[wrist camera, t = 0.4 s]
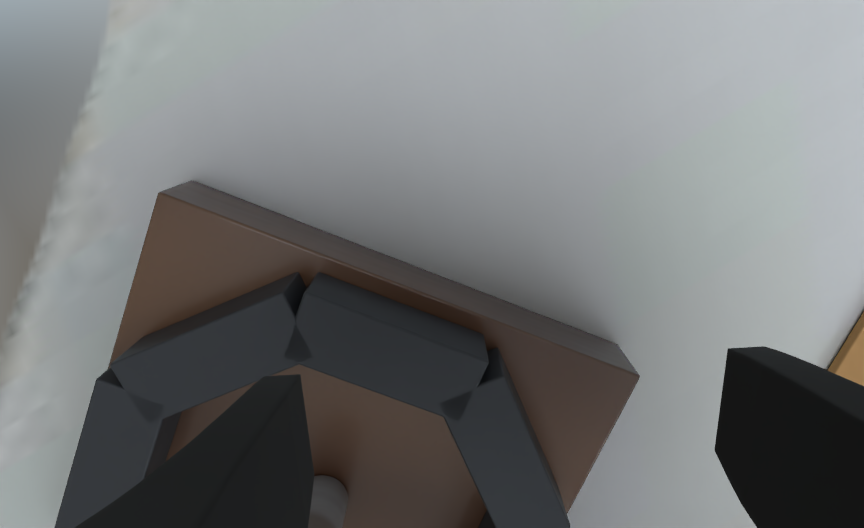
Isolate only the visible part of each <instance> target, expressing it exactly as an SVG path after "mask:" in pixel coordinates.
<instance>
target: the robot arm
mask: <svg viewBox="0 0 864 528" xmlns="http://www.w3.org/2000/svg"><path fill="white" fill-rule="evenodd" d="M715 452H716V454H717V456H718V458H719V460H720V462H721V464H722V467H723V469H724V471H725V473H726V475H727V477H728V479H729V481H730V483H731V485H732V487H733V489H734V491H735V493H736V494H737V496H738V498H739V500H740V502H741V504H742V505H743V507H744V508H745V510H746V511H747V513H748V514H749V516H750V518H751V519H752V520H753V522H754V523H755V525H756V526H757V528H864V386H862V385H860V384H858V383H855V382H853V381H851V380H848V379H846V378H844V377H841V376H839V375H837V374H834V373H832V372H830V371H827V370H825V369H823V368H820V367H818V366H816V365H813V364H811V363H808V362H806V361H803V360H801V359H798V358H796V357H793V356H791V355H788V354H786V353H783V352H780V351H777V350H774V349H771V348H767V347H748V348H731V349H728V352H727V360H726V367H725V375H724V383H723V390H722V398H721V406H720V413H719V421H718V429H717V436H716V444H715ZM313 483H314V469H313V461H312V454H311V447H310V440H309V433H308V426H307V418H306V411H305V404H304V397H303V390H302V383H301V375H300V374H296V375H279V376H264V377H263V378H261V379H260V380H259V381H258V382H256V383H255V384H254V385H253V386H252V387H251V388H250V389H248V390H247V391H246V392H245V393H244V394H243V395H242V396H241V397H240V398H239V399H238V400H236V401H235V402H234V403H233V404H232V405H231V406H230V407H229V408H228V409H227V410H226V411H224V412H223V413H222V414H221V415H220V416H219V417H218V418H217V419H215V420H214V421H213V422H212V423H211V424H210V425H209V426H208V427H206V428H205V429H204V430H203V431H202V432H201V433H200V434H199V435H197V436H196V437H195V438H194V439H193V440H192V441H191V442H189V443H188V444H187V445H186V446H184V447H183V448H182V449H181V450H179V451H178V452H177V453H176V454H175V455H173V456H172V457H171V458H170V459H168V460H167V461H166V462H165V463H163V464H162V465H161V466H160V467H158V468H157V469H156V470H155V471H153V472H152V473H151V474H150V475H148V476H147V477H146V478H145V479H143V480H142V481H141V482H140V483H138V484H137V485H135V486H134V487H133V488H131V489H130V490H129V491H127V492H126V493H125V494H123V495H122V496H120V497H119V498H118V499H116V500H115V501H113V502H112V503H111V504H109V505H108V506H106V507H105V508H103V509H102V510H100V511H99V512H97V513H96V514H94V515H93V516H91V517H90V518H88V519H87V520H85V521H84V522H82V523H81V524H79V525H78V526H76V527H74V528H308V523H309V516H310V508H311V500H312V491H313Z"/></svg>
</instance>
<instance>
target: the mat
mask: <svg viewBox="0 0 864 528" xmlns="http://www.w3.org/2000/svg"><path fill="white" fill-rule="evenodd" d="M827 371H830V372H832V373H834V374H837V375H839V376H841V377H844V378H846V379H848V380H851V381H853V382H855V383H858V384H860V385H862V386H864V312H863V314H862V315H861V317H860V318H859V320H858V322H857V323H856V325H855V327H854V328H853V330H852V331H851V333H850V335H849V336H848V338H847V340H846V341H845V343H844V344H843V346H842V348H841V349H840V351H839V353H838V354H837V356H836V357H835V359H834V361H833V362H832V364H831V365H830V367H829V369H828V370H827Z"/></svg>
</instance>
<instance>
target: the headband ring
mask: <svg viewBox="0 0 864 528" xmlns="http://www.w3.org/2000/svg"><path fill="white" fill-rule="evenodd" d="M297 365H302V366H305V367H308V368H310V369H313V370H316V371H319V372H321V373H324V374H327V375H330V376H332V377H335V378H338V379H341V380H343V381H346V382H349V383H352V384H354V385H357V386H360V387H363V388H365V389H368V390H371V391H374V392H376V393H379V394H382V395H385V396H387V397H390V398H393V399H396V400H398V401H401V402H404V403H406V404H409V405H412V406H415V407H417V408H420V409H423V410H426V411H428V412H431V413H434V414H437V415H439V416H442V417H444V420H445V422H446V424H447V426H448V428H449V430H450V432H451V434H452V437H453V439H454V441H455V443H456V445H457V447H458V449H459V451H460V454H461V456H462V458H463V460H464V462H465V464H466V466H467V468H468V471H469V473H470V475H471V477H472V479H473V481H474V483H475V485H476V488H477V490H478V492H479V494H480V496H481V498H482V500H483V502H484V505H485V507H486V509H487V511H486V513H485V515H484V517H483V519H482V521H481V523H480V526H479V528H570V523H569V520H568V517H567V514H566V510H565V507H564V504H563V501H562V497H561V494H560V491H559V488H558V485H557V483H556V480H555V478H554V476H553V473H552V471H551V469H550V466H549V464H548V462H547V459H546V457H545V455H544V452H543V450H542V448H541V445H540V443H539V441H538V439H537V436H536V434H535V432H534V429H533V427H532V425H531V422H530V420H529V418H528V415H527V413H526V411H525V408H524V406H523V404H522V401H521V399H520V397H519V394H518V392H517V390H516V388H515V385H514V383H513V381H512V378H511V376H510V374H509V371H508V369H507V367H506V364H505V362H504V360H503V357H502V355H501V353H500V350H499V349H498V348H494V349H491V350H489V351H487V349H486V344H485V339H484V335H483V334H481V333H479V332H476V331H473V330H471V329H468V328H466V327H463V326H460V325H458V324H455V323H452V322H450V321H447V320H445V319H442V318H439V317H437V316H434V315H431V314H429V313H426V312H423V311H421V310H418V309H416V308H413V307H410V306H408V305H405V304H402V303H400V302H397V301H394V300H392V299H389V298H387V297H384V296H381V295H379V294H376V293H373V292H371V291H368V290H365V289H363V288H360V287H358V286H355V285H352V284H350V283H347V282H344V281H342V280H339V279H336V278H334V277H331V276H329V275H326V274H323V273H321V272H318V273H317V274H316V276H315V277H314V279H313V280H312V282H311V283H310V285H309V286H308V288H306V286H305V284H304V282H303V280H302V278H301V276H300V274H299V273H298V272H296V273H293V274H291V275H288V276H286V277H284V278H281V279H279V280H277V281H274V282H272V283H269V284H267V285H265V286H262V287H260V288H258V289H255V290H253V291H250V292H248V293H246V294H243V295H241V296H239V297H236V298H234V299H231V300H229V301H227V302H224V303H222V304H220V305H217V306H215V307H212V308H210V309H208V310H205V311H203V312H201V313H198V314H196V315H194V316H191V317H189V318H186V319H184V320H182V321H179V322H177V323H175V324H172V325H170V326H167V327H165V328H163V329H160V330H158V331H156V332H153V333H151V334H148V335H146V336H144V337H142V338H141V339H140V340H138V341H137V342H136V343H135V344H134V345H132V346H131V347H130V348H129V349H128V350H126V351H125V352H124V353H123V354H122V355H120V356H119V357H118V358H117V359H116V360H114V361H113V362H112V363H111V364H110V368H109V369H108V370H107V371H106V372H105V373H103V374H102V375H101V376H100V377H99V378H97V380H96V383H95V386H94V390H93V393H92V397H91V400H90V404H89V407H88V411H87V415H86V418H85V422H84V425H83V429H82V432H81V436H80V439H79V443H78V446H77V450H76V454H75V457H74V461H73V464H72V468H71V471H70V475H69V478H68V482H67V486H66V489H65V493H64V496H63V500H62V503H61V507H60V510H59V514H58V517H57V521H56V525H55V528H74V527H76V526H78V525H79V524H81V523H82V522H84V521H85V520H87V519H88V518H90V517H91V516H93V515H94V514H96V513H97V512H99V511H100V510H102V509H103V508H105V507H106V506H108V505H109V504H111V503H112V502H113V501H115V500H116V499H118V498H119V497H120V496H122V495H123V494H125V493H126V492H127V491H129V490H130V489H131V488H133V487H134V486H135V485H137V484H138V483H140V482H141V481H142V480H143V479H145V478H146V477H147V476H148V475H150V474H151V473H152V472H153V471H155V470H156V469H157V468H158V467H160V466H161V465H162V464H163V463H165V461H166V458H167V455H168V452H169V449H170V446H171V443H172V440H173V437H174V434H175V431H176V427H177V424H178V421H179V418H180V415H181V412H182V411H185V410H187V409H190V408H192V407H195V406H197V405H200V404H202V403H205V402H207V401H210V400H212V399H215V398H217V397H220V396H222V395H225V394H227V393H230V392H232V391H234V390H237V389H239V388H242V387H244V386H247V385H249V384H252V383H254V382H257V381H259V380H260V379H261V378H263V377H264V376H272V375H274V374H277V373H279V372H282V371H284V370H287V369H289V368H292V367H294V366H297Z"/></svg>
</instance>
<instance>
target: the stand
mask: <svg viewBox="0 0 864 528" xmlns="http://www.w3.org/2000/svg"><path fill="white" fill-rule="evenodd" d="M296 272H298V273H299V274H300V276H301V278H302V280H303V282H304V284H305V286H306V288H308V286H309V285H310V283H311V282H312V280H313V279H314V277H315V276H316V274H317V273H318V272H321V273H323V274H326V275H329V276H331V277H334V278H336V279H339V280H342V281H344V282H347V283H350V284H352V285H355V286H358V287H360V288H363V289H365V290H368V291H371V292H373V293H376V294H379V295H381V296H384V297H387V298H389V299H392V300H394V301H397V302H400V303H402V304H405V305H408V306H410V307H413V308H416V309H418V310H421V311H423V312H426V313H429V314H431V315H434V316H437V317H439V318H442V319H445V320H447V321H450V322H452V323H455V324H458V325H460V326H463V327H466V328H468V329H471V330H473V331H476V332H479V333H481V334H483V335H484V339H485V344H486V349H487V351H489V350H491V349H494V348H498V349H499V350H500V353H501V355H502V357H503V360H504V362H505V364H506V367H507V369H508V371H509V374H510V376H511V378H512V381H513V383H514V385H515V388H516V390H517V392H518V394H519V397H520V399H521V401H522V404H523V406H524V408H525V411H526V413H527V415H528V418H529V420H530V422H531V425H532V427H533V429H534V432H535V434H536V436H537V439H538V441H539V443H540V445H541V448H542V450H543V452H544V455H545V457H546V459H547V462H548V464H549V466H550V469H551V471H552V473H553V476H554V478H555V480H556V483H557V485H558V488H559V491H560V494H561V497H562V501H563V504H564V507H565V510H566V514H567V513H568V511H569V509H570V508H571V506H572V504H573V502H574V500H575V498H576V496H577V494H578V493H579V491H580V489H581V487H582V485H583V483H584V481H585V479H586V477H587V476H588V474H589V472H590V470H591V468H592V466H593V464H594V462H595V461H596V459H597V457H598V455H599V453H600V451H601V449H602V447H603V446H604V444H605V442H606V440H607V438H608V436H609V434H610V432H611V430H612V429H613V427H614V425H615V423H616V421H617V419H618V417H619V415H620V414H621V412H622V410H623V408H624V406H625V404H626V402H627V400H628V399H629V397H630V395H631V393H632V391H633V389H634V387H635V385H636V383H637V382H638V380H639V377H640V375H639V374H638V373H637V371H636V370H635V368H634V367H633V366H632V364H631V363H630V361H629V360H628V359H627V357H626V356H625V354H624V353H623V352H622V350H621V349H620V347H619V346H618V345H617V344H615V343H612V342H610V341H607V340H604V339H602V338H599V337H597V336H594V335H591V334H589V333H586V332H584V331H581V330H578V329H576V328H573V327H571V326H568V325H565V324H563V323H560V322H558V321H555V320H553V319H550V318H547V317H545V316H542V315H540V314H537V313H534V312H532V311H529V310H527V309H524V308H521V307H519V306H516V305H514V304H511V303H508V302H506V301H503V300H501V299H498V298H496V297H493V296H490V295H488V294H485V293H483V292H480V291H477V290H475V289H472V288H470V287H467V286H464V285H462V284H459V283H457V282H454V281H451V280H449V279H446V278H444V277H441V276H439V275H436V274H433V273H431V272H428V271H426V270H423V269H420V268H418V267H415V266H413V265H410V264H407V263H405V262H402V261H400V260H397V259H395V258H392V257H389V256H387V255H384V254H382V253H379V252H376V251H374V250H371V249H369V248H366V247H363V246H361V245H358V244H356V243H353V242H350V241H348V240H345V239H343V238H340V237H338V236H335V235H332V234H330V233H327V232H325V231H322V230H319V229H317V228H314V227H312V226H309V225H306V224H304V223H301V222H299V221H296V220H293V219H291V218H288V217H286V216H283V215H281V214H278V213H275V212H273V211H270V210H268V209H265V208H262V207H260V206H257V205H255V204H252V203H249V202H247V201H244V200H242V199H239V198H236V197H234V196H231V195H229V194H226V193H224V192H221V191H218V190H216V189H213V188H211V187H208V186H205V185H203V184H200V183H198V182H195V181H188V182H186V183H183V184H180V185H177V186H175V187H172V188H169V189H166V190H164V191H161V192H159V193H158V196H157V199H156V203H155V206H154V210H153V213H152V217H151V220H150V224H149V227H148V231H147V234H146V238H145V241H144V245H143V248H142V252H141V255H140V259H139V262H138V266H137V269H136V273H135V276H134V280H133V283H132V287H131V290H130V294H129V297H128V301H127V304H126V308H125V311H124V315H123V318H122V322H121V325H120V329H119V332H118V336H117V339H116V343H115V346H114V350H113V353H112V356H111V360H110V363H109V367H108V369H109V368H110V364H111V363H112V362H113V361H114V360H116V359H117V358H118V357H119V356H120V355H122V354H123V353H124V352H125V351H126V350H128V349H129V348H130V347H131V346H132V345H134V344H135V343H136V342H137V341H138V340H140V339H141V338H142V337H144V336H146V335H148V334H151V333H153V332H156V331H158V330H160V329H163V328H165V327H167V326H170V325H172V324H175V323H177V322H179V321H182V320H184V319H186V318H189V317H191V316H194V315H196V314H198V313H201V312H203V311H205V310H208V309H210V308H212V307H215V306H217V305H220V304H222V303H224V302H227V301H229V300H231V299H234V298H236V297H239V296H241V295H243V294H246V293H248V292H250V291H253V290H255V289H258V288H260V287H262V286H265V285H267V284H269V283H272V282H274V281H277V280H279V279H281V278H284V277H286V276H288V275H291V274H293V273H296ZM296 374H300V375H301V383H302V390H303V397H304V404H305V411H306V418H307V426H308V433H309V440H310V447H311V454H312V461H313V469H314V483H313V491H312V500H311V508H310V516H309V523H308V528H479V526H480V523H481V521H482V519H483V517H484V515H485V513H486V511H487V509H486V507H485V505H484V502H483V500H482V498H481V496H480V494H479V492H478V490H477V488H476V485H475V483H474V481H473V479H472V477H471V475H470V473H469V471H468V468H467V466H466V464H465V462H464V460H463V458H462V456H461V454H460V451H459V449H458V447H457V445H456V443H455V441H454V439H453V437H452V434H451V432H450V430H449V428H448V426H447V424H446V422H445V420H444V417H442V416H439V415H437V414H434V413H431V412H428V411H426V410H423V409H420V408H417V407H415V406H412V405H409V404H406V403H404V402H401V401H398V400H396V399H393V398H390V397H387V396H385V395H382V394H379V393H376V392H374V391H371V390H368V389H365V388H363V387H360V386H357V385H354V384H352V383H349V382H346V381H343V380H341V379H338V378H335V377H332V376H330V375H327V374H324V373H321V372H319V371H316V370H313V369H310V368H308V367H305V366H302V365H297V366H294V367H292V368H289V369H287V370H284V371H282V372H279V373H277V374H274V375H272V376H279V375H296ZM257 382H258V381H257ZM255 383H256V382H254V383H252V384H249V385H247V386H244V387H242V388H239V389H237V390H234V391H232V392H230V393H227V394H225V395H222V396H220V397H217V398H215V399H212V400H210V401H207V402H205V403H202V404H200V405H197V406H195V407H192V408H190V409H187V410H185V411H182V412H181V415H180V418H179V421H178V424H177V427H176V431H175V434H174V437H173V440H172V443H171V446H170V449H169V452H168V455H167V458H166V461H167V460H168V459H170V458H171V457H172V456H173V455H175V454H176V453H177V452H178V451H179V450H181V449H182V448H183V447H184V446H186V445H187V444H188V443H189V442H191V441H192V440H193V439H194V438H195V437H196V436H197V435H199V434H200V433H201V432H202V431H203V430H204V429H205V428H206V427H208V426H209V425H210V424H211V423H212V422H213V421H214V420H215V419H217V418H218V417H219V416H220V415H221V414H222V413H223V412H224V411H226V410H227V409H228V408H229V407H230V406H231V405H232V404H233V403H234V402H235V401H236V400H238V399H239V398H240V397H241V396H242V395H243V394H244V393H245V392H246V391H247V390H248V389H250V388H251V387H252V386H253V385H254V384H255ZM166 461H165V462H166Z"/></svg>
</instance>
